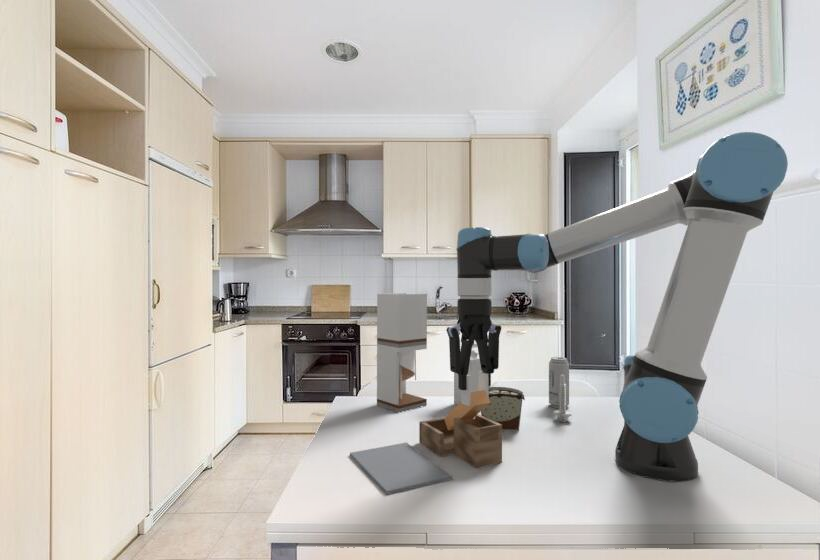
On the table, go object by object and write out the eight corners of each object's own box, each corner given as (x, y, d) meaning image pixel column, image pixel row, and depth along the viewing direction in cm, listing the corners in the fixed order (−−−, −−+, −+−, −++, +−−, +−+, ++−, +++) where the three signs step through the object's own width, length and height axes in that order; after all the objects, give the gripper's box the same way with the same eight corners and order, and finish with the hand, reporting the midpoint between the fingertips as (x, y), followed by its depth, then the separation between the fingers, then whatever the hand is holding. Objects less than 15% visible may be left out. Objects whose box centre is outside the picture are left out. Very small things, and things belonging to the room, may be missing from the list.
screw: (568, 417, 124) (574, 423, 119) (551, 417, 124) (556, 423, 119) (568, 372, 124) (574, 375, 119) (551, 372, 124) (556, 375, 120)
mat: (452, 478, 85) (452, 475, 85) (386, 494, 79) (386, 491, 79) (406, 445, 103) (406, 442, 103) (349, 455, 96) (350, 452, 96)
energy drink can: (545, 404, 139) (545, 356, 139) (562, 403, 140) (562, 356, 140) (554, 409, 133) (554, 360, 133) (572, 408, 134) (573, 359, 134)
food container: (521, 423, 119) (521, 386, 119) (524, 431, 113) (524, 392, 113) (475, 421, 120) (475, 385, 120) (476, 429, 114) (477, 391, 114)
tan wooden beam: (490, 402, 95) (485, 390, 96) (475, 405, 93) (470, 392, 95) (462, 427, 104) (457, 415, 106) (447, 430, 103) (443, 418, 104)
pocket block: (515, 459, 95) (515, 422, 95) (461, 471, 88) (461, 432, 88) (467, 433, 111) (467, 402, 111) (419, 442, 104) (419, 409, 104)
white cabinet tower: (399, 412, 129) (399, 294, 129) (376, 405, 136) (377, 293, 137) (426, 405, 136) (426, 293, 137) (404, 398, 144) (404, 293, 144)
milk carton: (453, 404, 138) (453, 344, 138) (468, 400, 143) (468, 342, 143) (470, 409, 133) (471, 346, 133) (485, 404, 137) (485, 344, 138)
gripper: (494, 296, 104) (495, 394, 104) (432, 297, 96) (433, 404, 96) (515, 297, 97) (516, 402, 97) (451, 298, 90) (451, 412, 89)
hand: (474, 402), depth 96 cm, fingers closed on tan wooden beam, 4 cm apart
